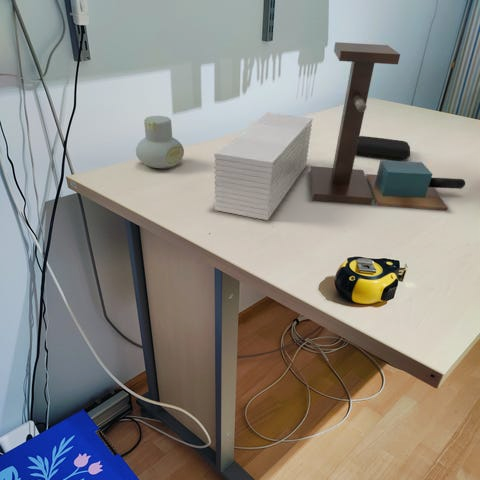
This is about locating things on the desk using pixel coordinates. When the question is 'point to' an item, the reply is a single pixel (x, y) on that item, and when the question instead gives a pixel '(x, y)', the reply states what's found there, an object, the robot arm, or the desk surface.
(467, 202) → the desk surface
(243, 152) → the stack of papers
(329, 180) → the holder stand
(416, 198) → the cork mat
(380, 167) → the stamp
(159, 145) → the air freshener
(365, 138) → the carrying case
